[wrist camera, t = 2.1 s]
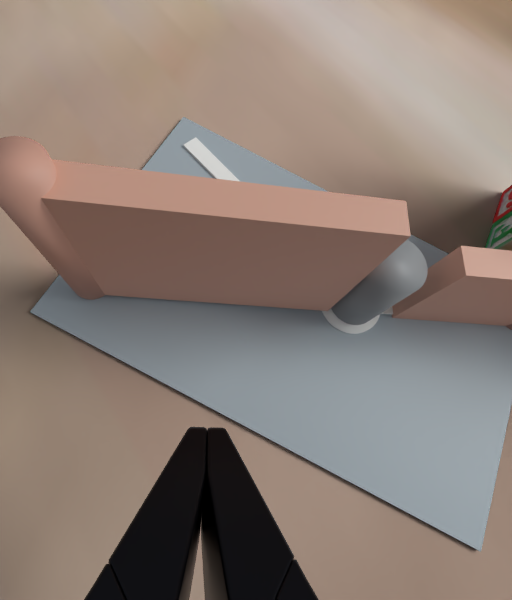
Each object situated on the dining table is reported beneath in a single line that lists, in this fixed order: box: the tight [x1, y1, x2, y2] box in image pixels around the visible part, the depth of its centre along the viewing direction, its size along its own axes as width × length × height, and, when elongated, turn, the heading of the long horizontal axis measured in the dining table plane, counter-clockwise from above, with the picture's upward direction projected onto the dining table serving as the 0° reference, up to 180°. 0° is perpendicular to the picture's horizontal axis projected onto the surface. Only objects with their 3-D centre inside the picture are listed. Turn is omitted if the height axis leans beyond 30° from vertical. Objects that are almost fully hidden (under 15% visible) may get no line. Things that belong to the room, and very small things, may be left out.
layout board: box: [30, 117, 512, 551], centre depth 21 cm, size 15×25×1 cm, turn 64°
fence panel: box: [0, 136, 428, 325], centre depth 16 cm, size 16×3×9 cm, turn 89°
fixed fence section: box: [392, 246, 512, 330], centre depth 19 cm, size 9×2×7 cm, turn 89°
